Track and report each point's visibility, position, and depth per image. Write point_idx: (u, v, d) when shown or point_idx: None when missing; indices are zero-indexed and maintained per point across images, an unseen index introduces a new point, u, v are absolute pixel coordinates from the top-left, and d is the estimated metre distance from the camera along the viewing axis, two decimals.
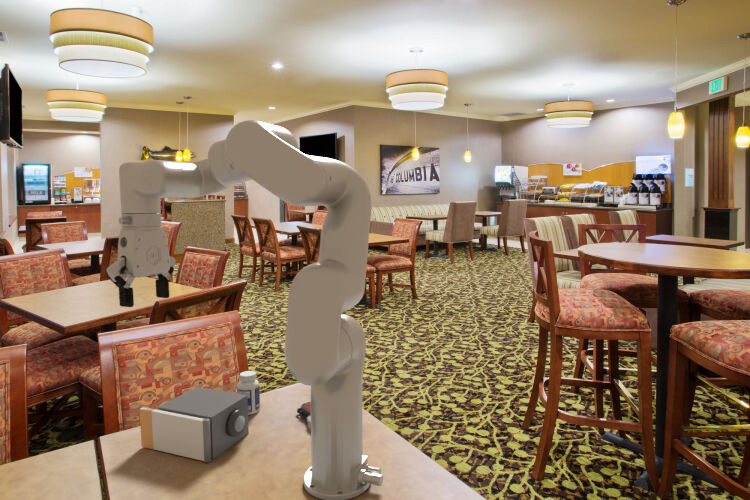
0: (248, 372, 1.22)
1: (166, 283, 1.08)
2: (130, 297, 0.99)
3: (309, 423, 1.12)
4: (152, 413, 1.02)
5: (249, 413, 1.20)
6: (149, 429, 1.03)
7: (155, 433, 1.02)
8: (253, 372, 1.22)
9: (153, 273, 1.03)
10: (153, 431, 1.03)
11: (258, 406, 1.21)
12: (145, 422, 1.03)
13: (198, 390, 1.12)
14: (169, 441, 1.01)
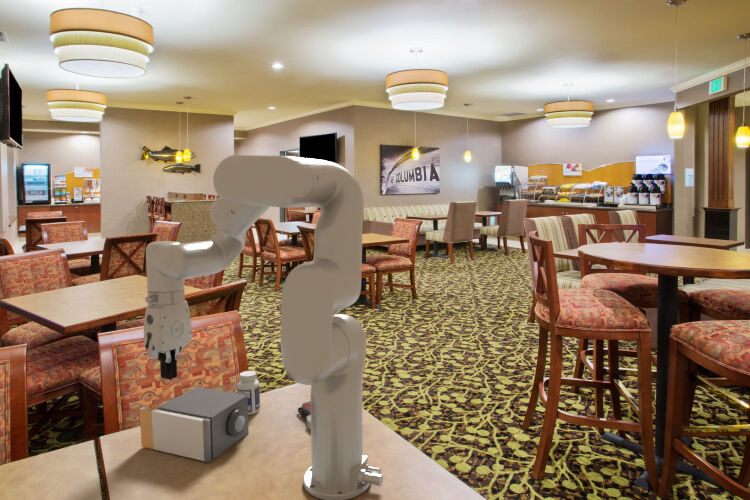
0: (248, 371, 1.22)
1: (174, 363, 1.09)
2: (171, 370, 1.08)
3: (308, 422, 1.13)
4: (152, 413, 1.02)
5: (249, 413, 1.20)
6: (149, 429, 1.03)
7: (155, 433, 1.02)
8: (253, 372, 1.22)
9: (177, 346, 1.08)
10: (153, 431, 1.03)
11: (258, 406, 1.21)
12: (145, 422, 1.03)
13: (198, 390, 1.12)
14: (169, 441, 1.01)
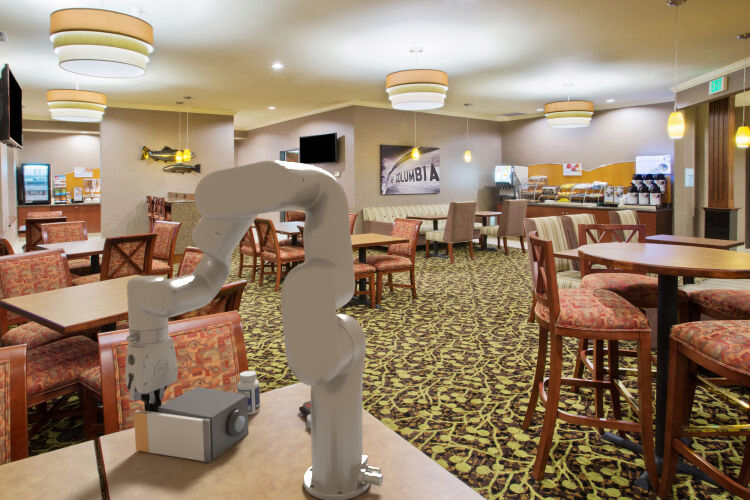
0: (248, 371, 1.22)
1: (159, 404, 1.04)
2: (155, 411, 1.03)
3: (308, 422, 1.13)
4: (148, 416, 1.01)
5: (249, 413, 1.20)
6: (144, 432, 1.02)
7: (150, 436, 1.01)
8: (253, 372, 1.22)
9: (161, 386, 1.03)
10: (149, 434, 1.01)
11: (258, 406, 1.21)
12: (140, 425, 1.02)
13: (198, 390, 1.12)
14: (167, 443, 1.00)
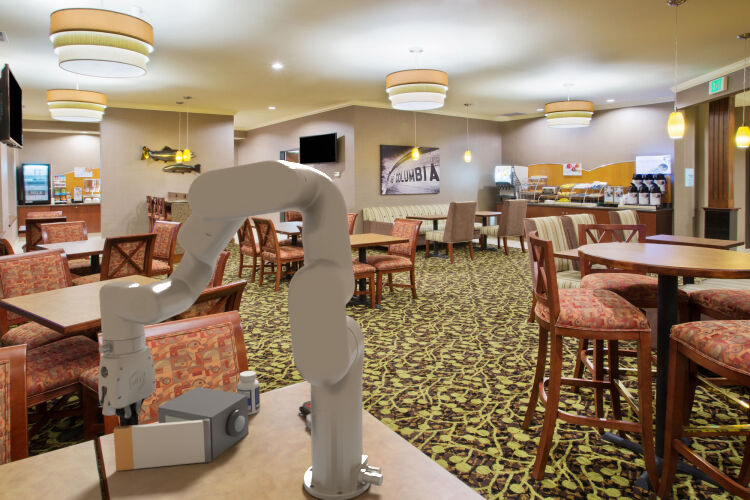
0: (248, 371, 1.22)
1: (135, 418, 0.97)
2: None
3: (307, 421, 1.13)
4: (133, 430, 0.95)
5: (249, 413, 1.20)
6: (128, 448, 0.95)
7: (136, 450, 0.95)
8: (253, 372, 1.22)
9: (137, 399, 0.96)
10: (134, 449, 0.95)
11: (258, 406, 1.21)
12: (122, 442, 0.95)
13: (198, 390, 1.12)
14: (158, 454, 0.96)
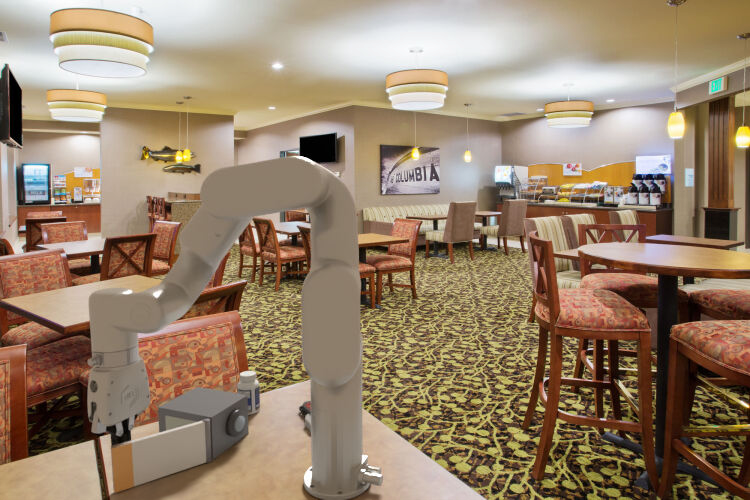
0: (248, 371, 1.22)
1: (127, 435, 0.90)
2: None
3: (306, 421, 1.13)
4: (133, 444, 0.89)
5: (249, 413, 1.20)
6: (128, 465, 0.89)
7: (137, 466, 0.90)
8: (253, 372, 1.22)
9: (129, 416, 0.89)
10: (134, 465, 0.89)
11: (258, 406, 1.21)
12: (121, 460, 0.88)
13: (198, 390, 1.12)
14: (160, 464, 0.92)
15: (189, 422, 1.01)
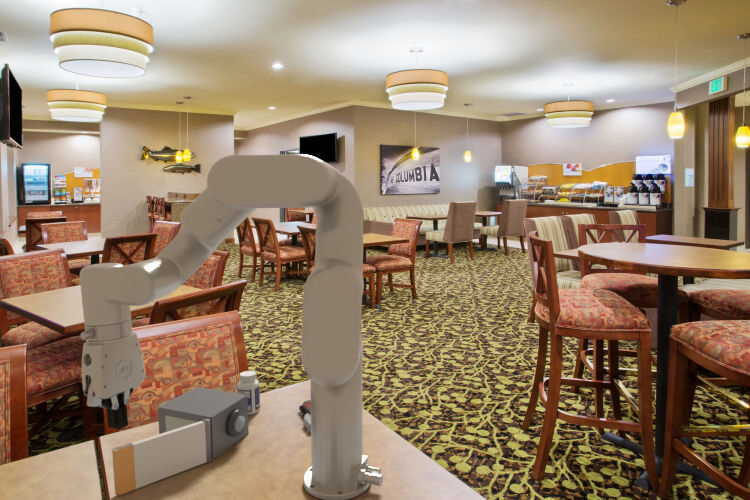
0: (248, 372, 1.22)
1: (123, 410, 0.91)
2: (119, 418, 0.90)
3: (304, 421, 1.13)
4: (135, 446, 0.88)
5: (249, 413, 1.20)
6: (129, 468, 0.88)
7: (138, 468, 0.89)
8: (253, 372, 1.22)
9: (124, 389, 0.89)
10: (136, 467, 0.89)
11: (258, 406, 1.21)
12: (123, 463, 0.87)
13: (198, 390, 1.12)
14: (161, 466, 0.92)
15: (189, 422, 1.01)
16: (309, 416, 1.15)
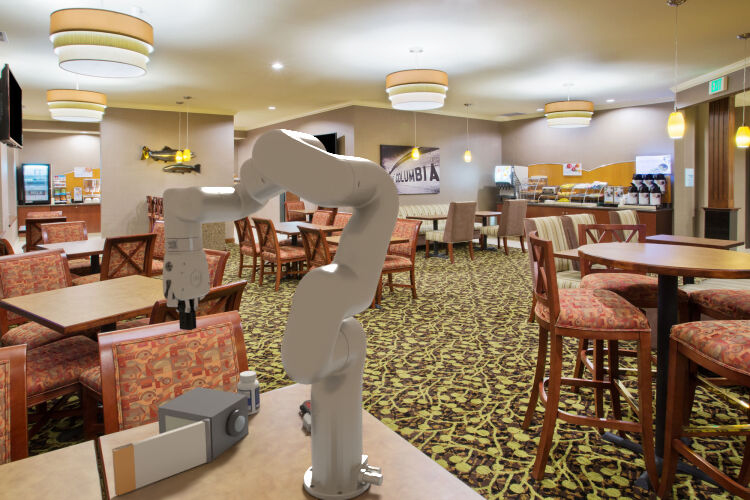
0: (248, 372, 1.22)
1: (193, 314, 1.06)
2: (190, 321, 1.06)
3: (304, 420, 1.14)
4: (135, 446, 0.88)
5: (249, 413, 1.20)
6: (129, 468, 0.88)
7: (138, 468, 0.89)
8: (253, 372, 1.22)
9: (196, 295, 1.05)
10: (136, 467, 0.89)
11: (258, 406, 1.21)
12: (123, 463, 0.87)
13: (198, 390, 1.12)
14: (161, 466, 0.92)
15: (189, 422, 1.01)
16: (308, 416, 1.15)
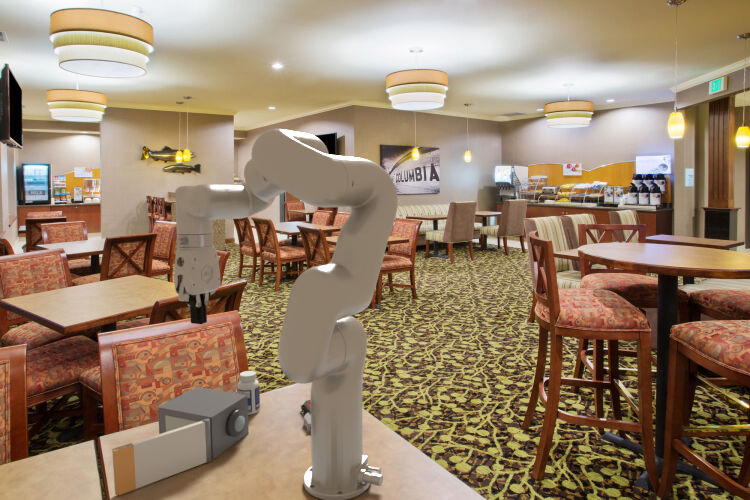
0: (248, 371, 1.22)
1: (204, 308, 1.09)
2: (201, 315, 1.09)
3: (304, 420, 1.14)
4: (135, 446, 0.88)
5: (249, 413, 1.20)
6: (129, 468, 0.88)
7: (138, 468, 0.89)
8: (253, 372, 1.22)
9: (206, 290, 1.08)
10: (136, 467, 0.89)
11: (258, 406, 1.21)
12: (123, 463, 0.87)
13: (198, 390, 1.12)
14: (161, 466, 0.92)
15: (189, 422, 1.01)
16: (309, 415, 1.15)
